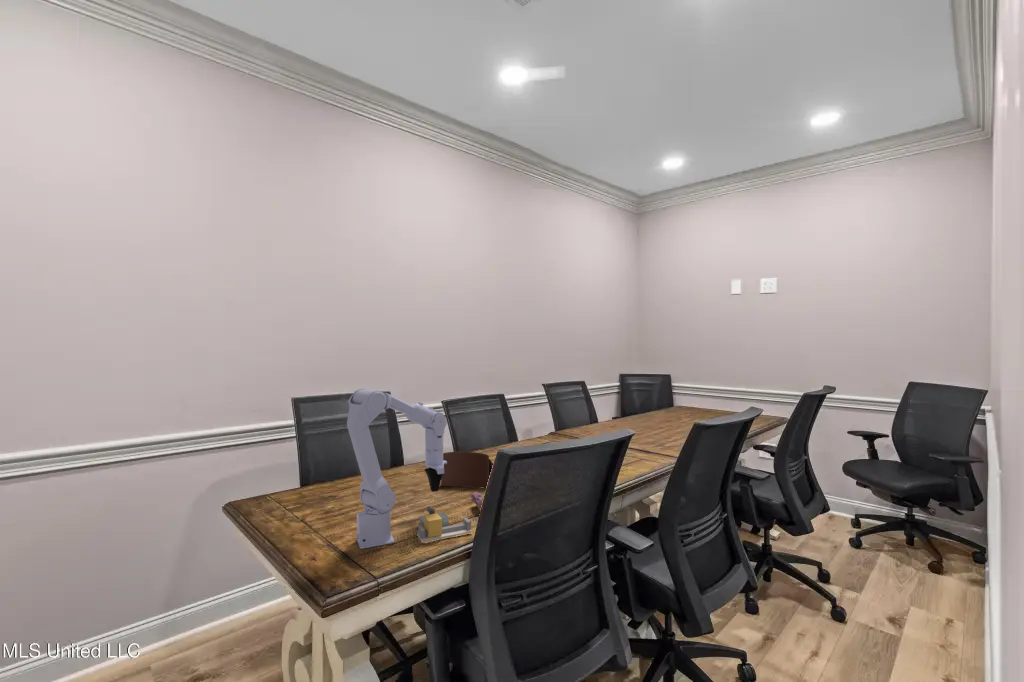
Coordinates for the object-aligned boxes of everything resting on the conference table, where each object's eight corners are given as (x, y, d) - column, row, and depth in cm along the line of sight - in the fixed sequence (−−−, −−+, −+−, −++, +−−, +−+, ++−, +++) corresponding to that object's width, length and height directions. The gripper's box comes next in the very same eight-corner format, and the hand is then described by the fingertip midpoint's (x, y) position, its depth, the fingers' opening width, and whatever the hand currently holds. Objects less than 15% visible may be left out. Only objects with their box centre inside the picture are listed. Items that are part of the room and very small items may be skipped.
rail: (422, 544, 134) (422, 532, 134) (417, 536, 139) (417, 524, 139) (471, 534, 140) (471, 522, 140) (465, 527, 146) (465, 516, 146)
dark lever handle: (435, 515, 146) (435, 510, 146) (430, 516, 145) (430, 511, 145) (430, 510, 150) (430, 505, 150) (425, 511, 150) (425, 506, 150)
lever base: (423, 531, 142) (423, 520, 142) (419, 525, 147) (419, 515, 147) (448, 526, 146) (448, 516, 146) (443, 521, 150) (443, 511, 150)
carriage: (428, 537, 135) (428, 521, 135) (424, 531, 140) (424, 515, 140) (442, 535, 137) (442, 518, 137) (437, 529, 141) (437, 513, 141)
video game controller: (475, 509, 165) (466, 493, 164) (486, 502, 167) (477, 485, 166) (484, 519, 156) (474, 502, 155) (495, 511, 158) (486, 494, 156)
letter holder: (489, 488, 184) (488, 452, 184) (440, 486, 188) (440, 451, 188) (494, 481, 194) (494, 447, 194) (448, 479, 197) (448, 445, 197)
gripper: (453, 452, 147) (453, 495, 147) (439, 443, 160) (440, 483, 160) (431, 454, 144) (431, 499, 144) (419, 445, 157) (419, 486, 157)
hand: (434, 490), depth 152 cm, fingers closed
